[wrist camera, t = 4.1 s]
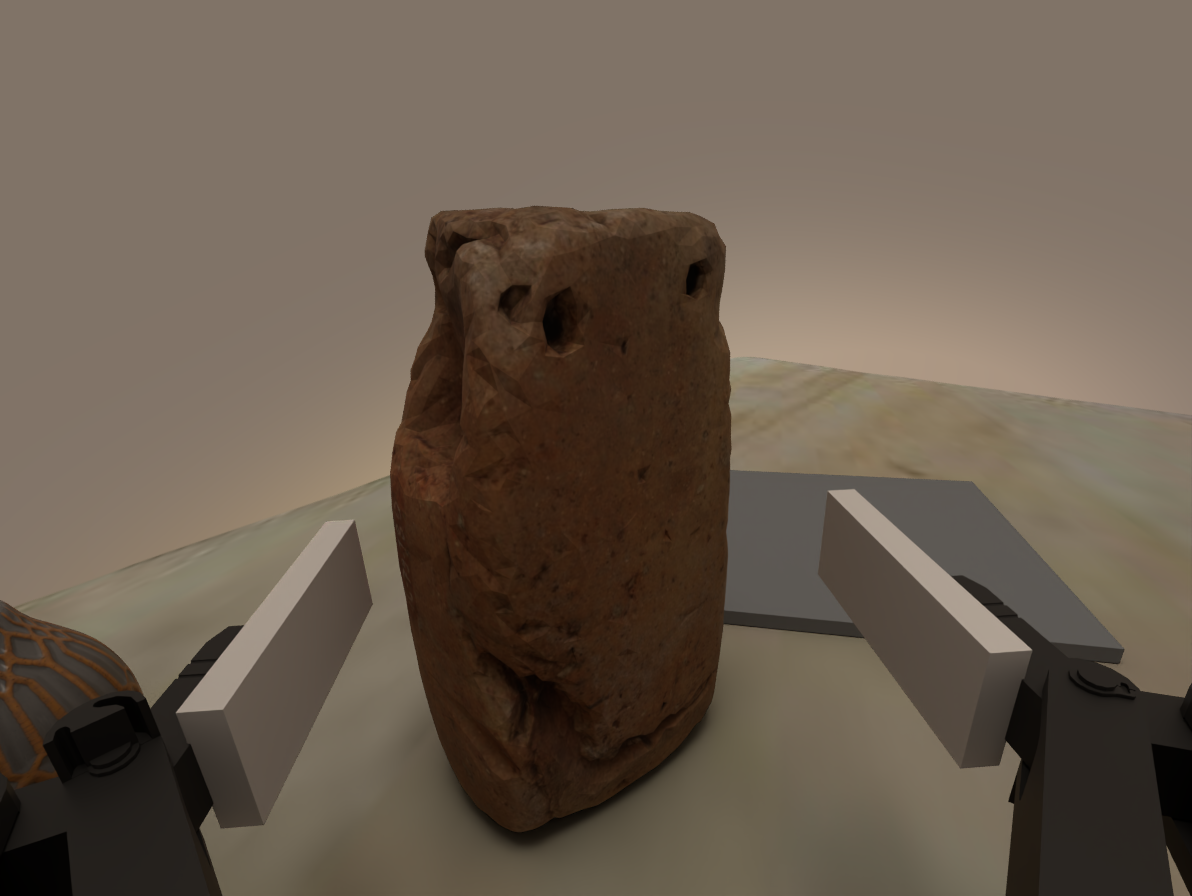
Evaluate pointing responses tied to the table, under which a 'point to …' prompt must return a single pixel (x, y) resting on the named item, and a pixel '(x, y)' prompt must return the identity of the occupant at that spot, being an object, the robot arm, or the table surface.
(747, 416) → the table surface
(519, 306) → the block
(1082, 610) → the mat
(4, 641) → the vase
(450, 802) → the table surface
